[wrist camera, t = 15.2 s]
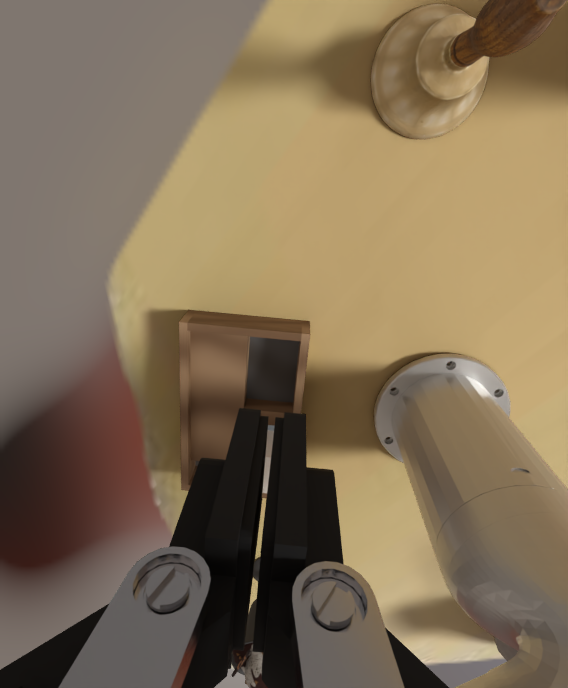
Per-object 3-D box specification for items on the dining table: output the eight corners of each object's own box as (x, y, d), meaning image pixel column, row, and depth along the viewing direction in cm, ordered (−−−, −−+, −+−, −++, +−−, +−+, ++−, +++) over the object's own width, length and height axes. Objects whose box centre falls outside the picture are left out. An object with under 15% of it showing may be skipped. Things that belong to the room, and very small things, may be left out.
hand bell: (486, -11, 28) (685, -203, 14) (489, 125, 31) (654, 88, 17) (363, 22, 29) (424, -124, 14) (377, 150, 32) (440, 137, 18)
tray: (188, 310, 38) (178, 322, 35) (309, 321, 38) (310, 334, 35) (189, 468, 45) (181, 490, 42) (291, 478, 45) (290, 500, 42)
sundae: (308, 581, 51) (310, 735, 37) (257, 594, 52) (241, 747, 38) (287, 544, 49) (281, 693, 35) (235, 558, 50) (209, 708, 36)
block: (239, 425, 40) (233, 452, 36) (280, 432, 40) (278, 458, 36) (235, 459, 42) (228, 487, 38) (274, 465, 42) (272, 494, 38)
